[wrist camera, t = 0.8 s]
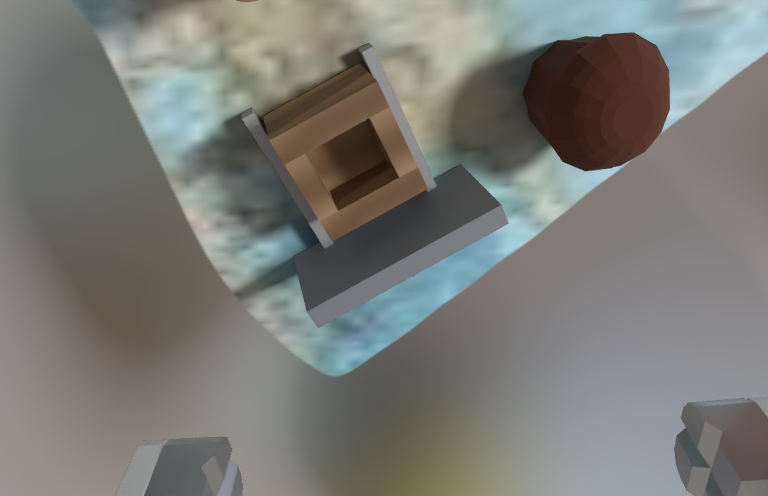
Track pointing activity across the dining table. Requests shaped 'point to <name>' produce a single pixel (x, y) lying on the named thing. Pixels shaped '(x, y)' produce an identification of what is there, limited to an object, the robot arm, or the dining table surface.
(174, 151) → the dining table surface
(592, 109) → the muffin
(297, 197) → the backstop
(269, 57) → the dining table surface
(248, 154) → the dining table surface
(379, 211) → the socket block
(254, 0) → the dowel
